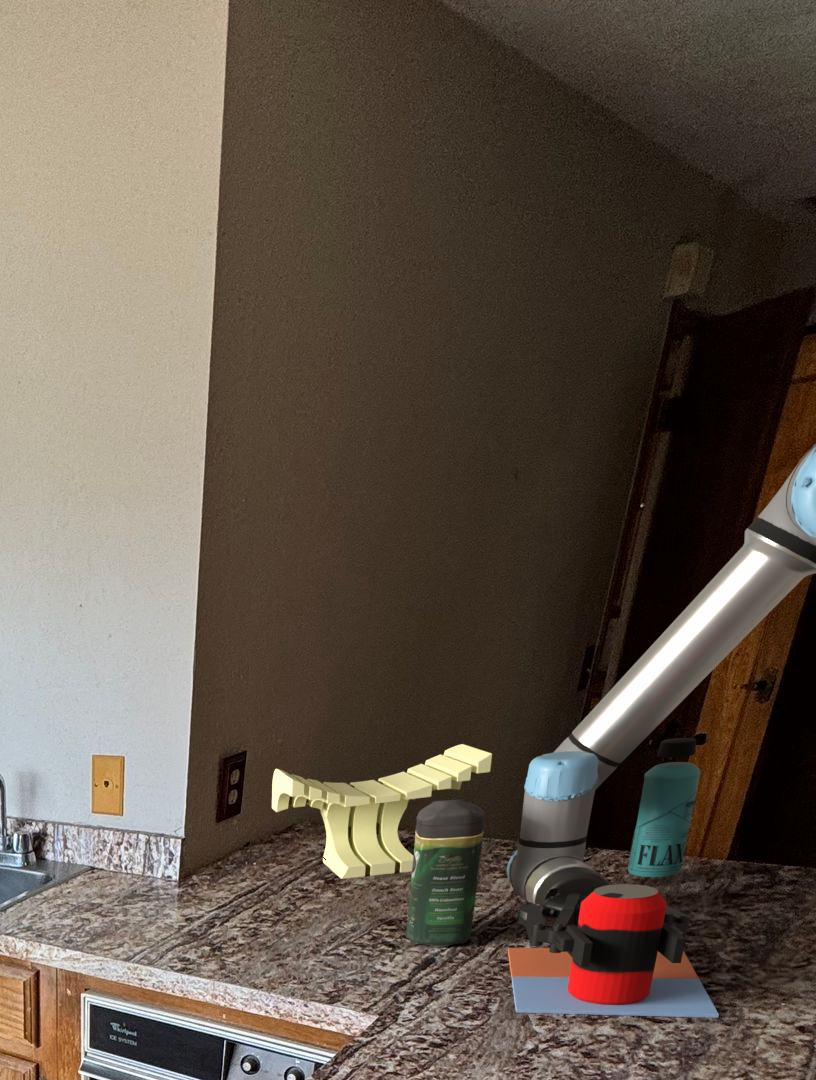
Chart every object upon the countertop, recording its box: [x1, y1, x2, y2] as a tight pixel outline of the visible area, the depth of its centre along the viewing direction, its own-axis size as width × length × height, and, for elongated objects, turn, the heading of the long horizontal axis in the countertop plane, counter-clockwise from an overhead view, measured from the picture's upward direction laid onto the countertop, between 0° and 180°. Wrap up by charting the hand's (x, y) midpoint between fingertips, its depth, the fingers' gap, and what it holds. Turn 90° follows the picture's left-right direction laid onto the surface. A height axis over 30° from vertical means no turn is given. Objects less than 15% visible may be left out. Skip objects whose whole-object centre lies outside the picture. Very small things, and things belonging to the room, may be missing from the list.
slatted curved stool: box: [271, 743, 493, 880], centre depth 172 cm, size 30×16×18 cm, turn 81°
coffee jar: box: [406, 799, 485, 948], centre depth 135 cm, size 10×8×19 cm
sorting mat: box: [507, 947, 720, 1019], centre depth 117 cm, size 18×22×1 cm
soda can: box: [567, 883, 668, 1005], centre depth 111 cm, size 8×8×12 cm
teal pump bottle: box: [626, 737, 702, 878], centre depth 141 cm, size 6×7×20 cm
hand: (632, 952), depth 106 cm, fingers closed on soda can, 7 cm apart
